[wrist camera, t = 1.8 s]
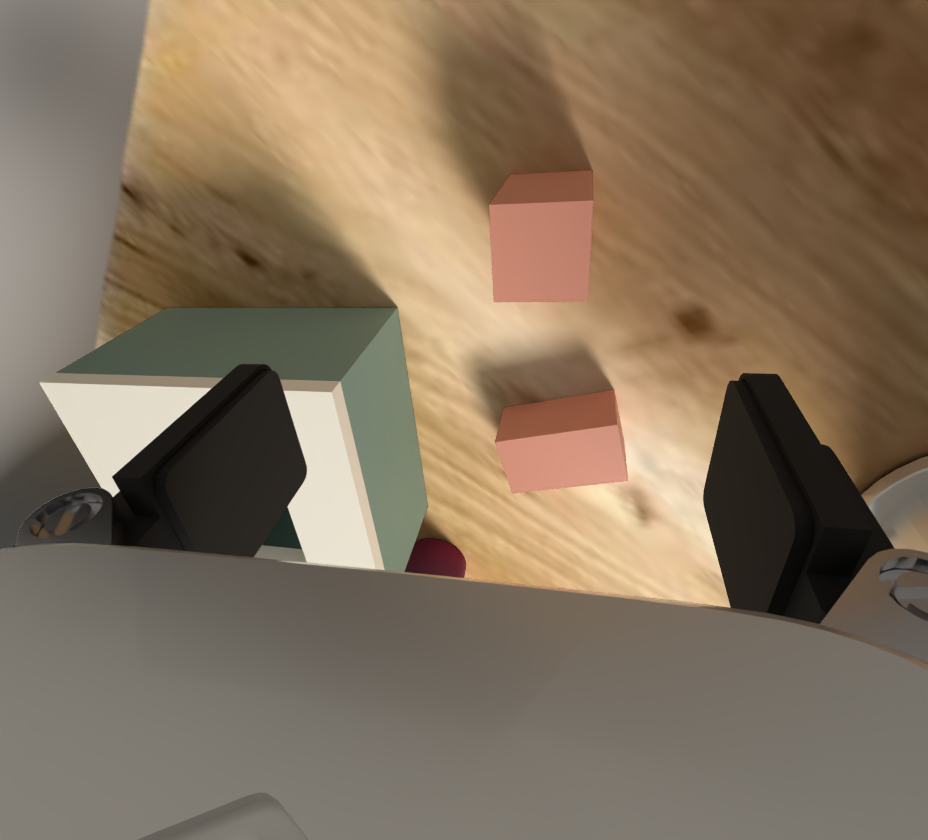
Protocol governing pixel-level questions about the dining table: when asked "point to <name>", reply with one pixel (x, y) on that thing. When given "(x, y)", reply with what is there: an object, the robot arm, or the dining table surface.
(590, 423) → the block
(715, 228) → the dining table surface
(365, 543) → the green and cream box
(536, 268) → the salmon pink block
